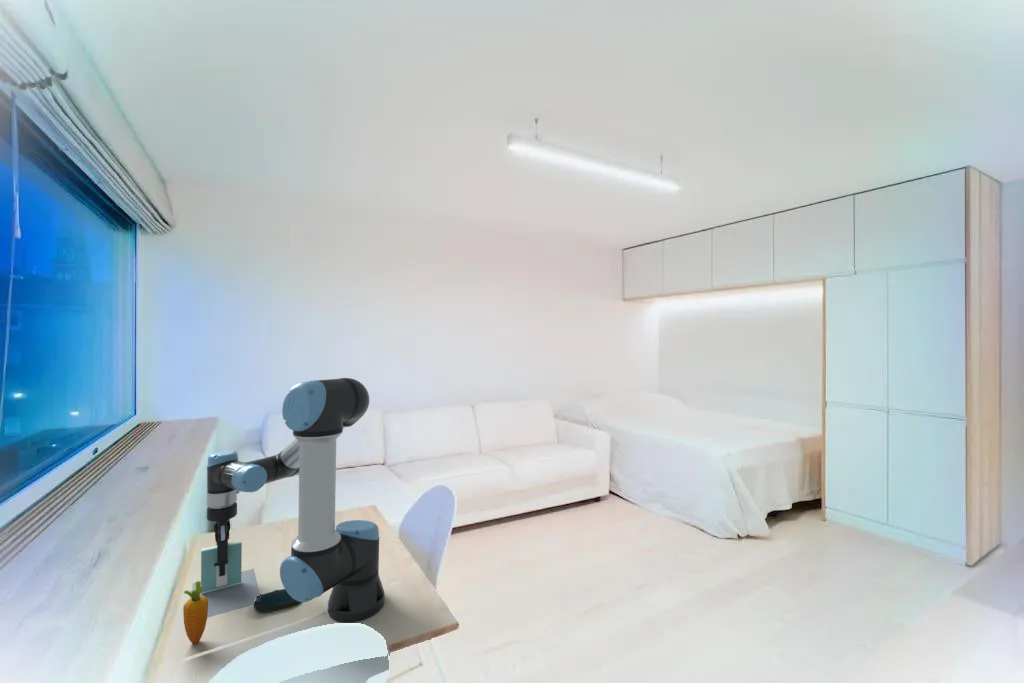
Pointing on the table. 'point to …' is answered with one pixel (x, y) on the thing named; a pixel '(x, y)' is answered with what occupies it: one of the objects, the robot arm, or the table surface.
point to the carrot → (195, 614)
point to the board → (210, 570)
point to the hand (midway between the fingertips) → (221, 583)
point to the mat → (232, 595)
